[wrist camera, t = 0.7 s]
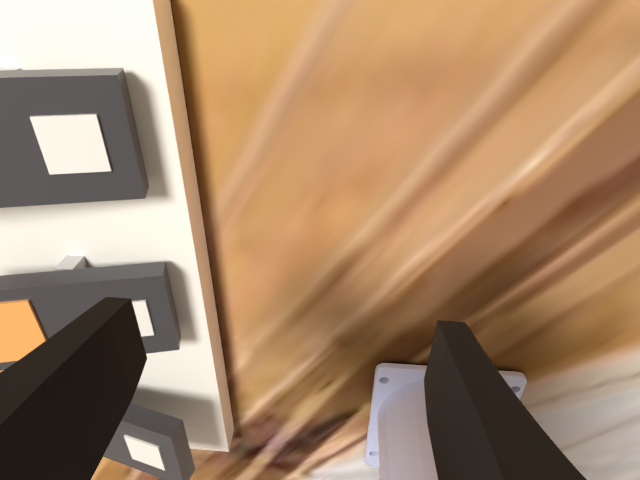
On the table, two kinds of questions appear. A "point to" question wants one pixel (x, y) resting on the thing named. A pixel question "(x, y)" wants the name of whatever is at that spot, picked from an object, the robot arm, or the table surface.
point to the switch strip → (137, 214)
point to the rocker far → (152, 444)
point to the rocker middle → (84, 305)
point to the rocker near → (68, 138)
